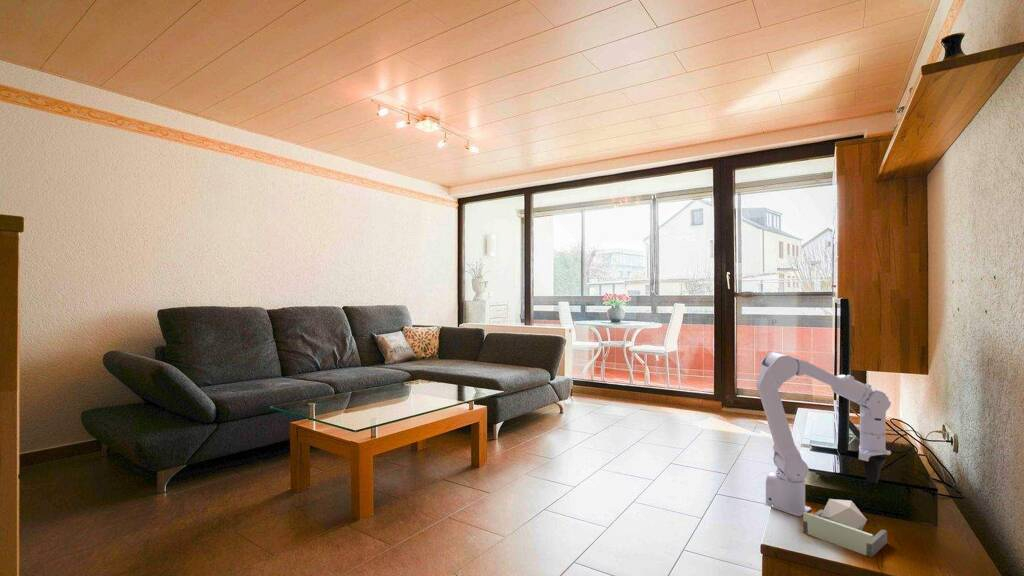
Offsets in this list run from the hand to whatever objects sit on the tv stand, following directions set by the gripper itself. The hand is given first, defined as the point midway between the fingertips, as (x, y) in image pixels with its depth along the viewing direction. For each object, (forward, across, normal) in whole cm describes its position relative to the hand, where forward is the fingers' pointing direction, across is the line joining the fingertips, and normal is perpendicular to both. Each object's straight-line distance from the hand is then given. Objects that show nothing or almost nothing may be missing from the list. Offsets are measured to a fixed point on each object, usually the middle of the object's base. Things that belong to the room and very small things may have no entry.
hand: (872, 481), depth 134 cm
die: (+10, -18, +1) cm, 21 cm away
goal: (+9, -20, 0) cm, 23 cm away
